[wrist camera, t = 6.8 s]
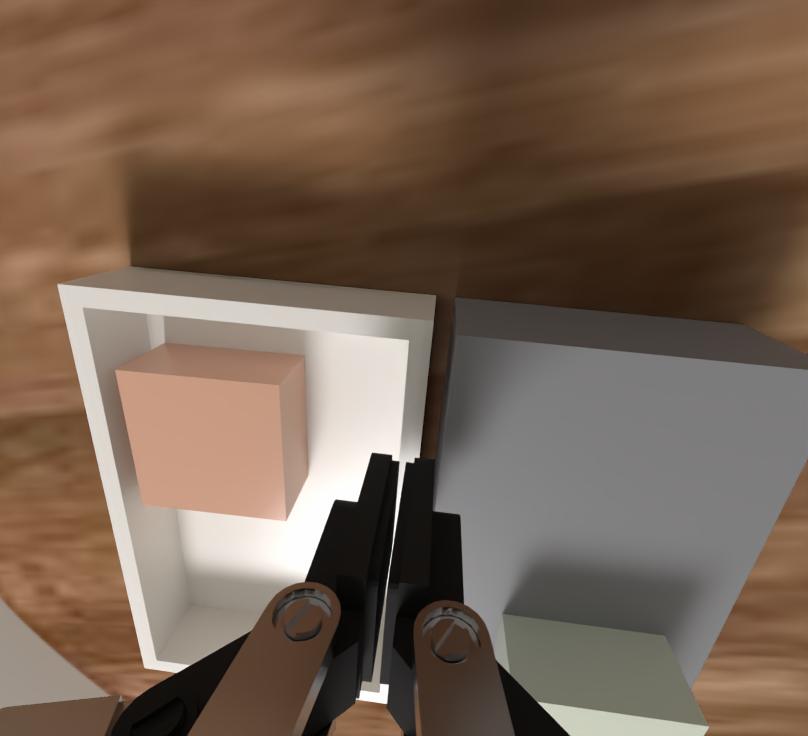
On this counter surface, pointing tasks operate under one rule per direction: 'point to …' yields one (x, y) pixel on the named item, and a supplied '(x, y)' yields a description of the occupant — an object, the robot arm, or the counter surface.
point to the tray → (326, 436)
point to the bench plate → (615, 465)
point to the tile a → (217, 429)
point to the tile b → (600, 678)
